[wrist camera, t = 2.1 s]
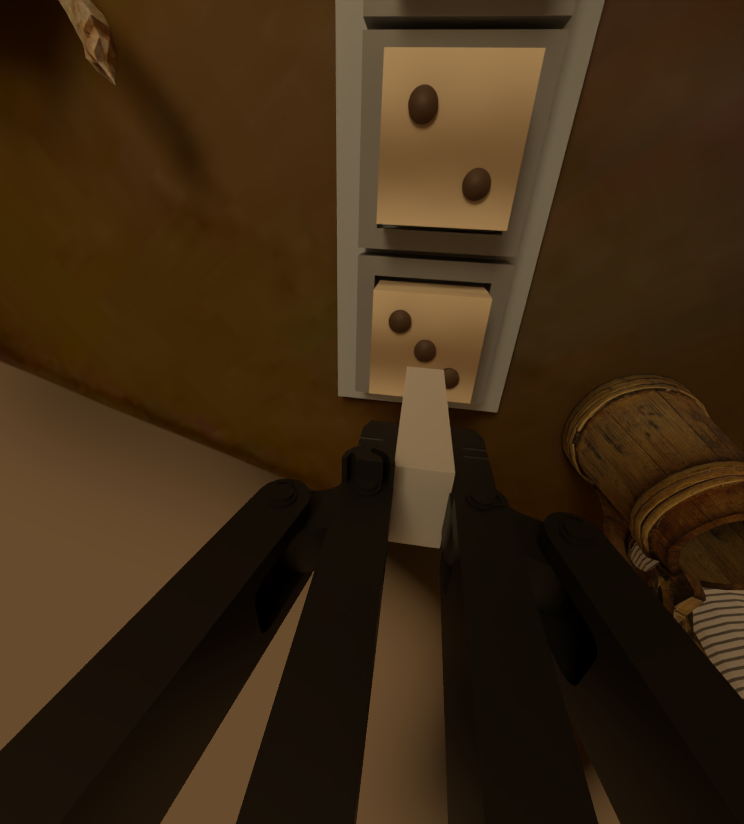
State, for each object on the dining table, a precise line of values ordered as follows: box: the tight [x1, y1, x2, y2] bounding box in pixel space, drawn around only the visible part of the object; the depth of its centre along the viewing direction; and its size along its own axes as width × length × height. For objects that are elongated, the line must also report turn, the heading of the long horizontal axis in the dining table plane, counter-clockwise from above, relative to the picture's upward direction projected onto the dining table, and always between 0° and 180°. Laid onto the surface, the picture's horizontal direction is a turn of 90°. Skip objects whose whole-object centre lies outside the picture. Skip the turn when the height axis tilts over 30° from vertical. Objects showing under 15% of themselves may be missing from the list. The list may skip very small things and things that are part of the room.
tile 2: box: [376, 47, 546, 231], centre depth 16 cm, size 6×6×3 cm
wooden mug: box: [562, 375, 744, 659], centre depth 20 cm, size 9×14×18 cm, turn 154°
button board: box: [336, 0, 605, 412], centre depth 18 cm, size 30×12×3 cm, turn 177°
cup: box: [631, 543, 744, 700], centre depth 25 cm, size 8×8×16 cm
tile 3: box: [369, 280, 492, 404], centre depth 20 cm, size 6×6×3 cm
